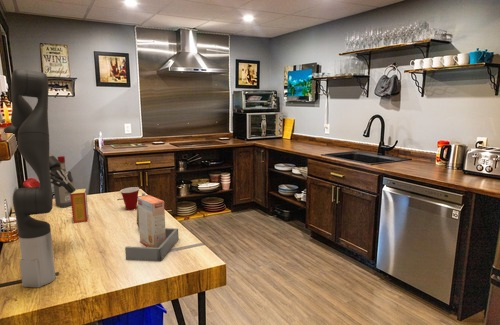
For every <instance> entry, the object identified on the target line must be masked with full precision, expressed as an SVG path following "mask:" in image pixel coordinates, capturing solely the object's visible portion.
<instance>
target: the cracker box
mask: <svg viewBox="0 0 500 325" xmlns="http://www.w3.org/2000/svg"><path fill="white" fill-rule="evenodd" d="M137 206H138V212H139V228H138V230H139V242H140V243H141V244H143V245H144V246H145V247H153V248H158V247H159V246H160V245H161V244H162V243H163V242H164V241H165V240H166V232H165V228H166V215H165V214H166V211H165V201H164V200H162V199H159V198H158V197H154V196H152V195H150V194H148V195H145V196H142V195H141V196H138V201H137Z"/></svg>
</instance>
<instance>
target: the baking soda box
mask: <svg viewBox="0 0 500 325" xmlns="http://www.w3.org/2000/svg"><path fill="white" fill-rule="evenodd" d="M71 204H72V206H71V214H72V224H80V223H87V222H88V219H89V208H88V198H87V188H79V189H77V188H75V191H74V192H73V193H71Z"/></svg>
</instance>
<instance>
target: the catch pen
mask: <svg viewBox="0 0 500 325" xmlns="http://www.w3.org/2000/svg"><path fill="white" fill-rule="evenodd" d="M165 232H166V240H165V241H164V242H163V243H162V244H161V245H160V246H159V247H158V248H153V247H147V246H128V245H127V246H125V247H124V252H125V254H124V255H125V260H127V261H129V260H130V261H148V262H152V261H153V262H161V261H162V260H163V259H164V258H165V257H166V255H167V254H168V253H169V251H170V250H171V249H172V248H173V246H174V245H175V244H176V243H177V241H178V240H179V228H173V227H172V228H170V227H169V228H167V227H165Z"/></svg>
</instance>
